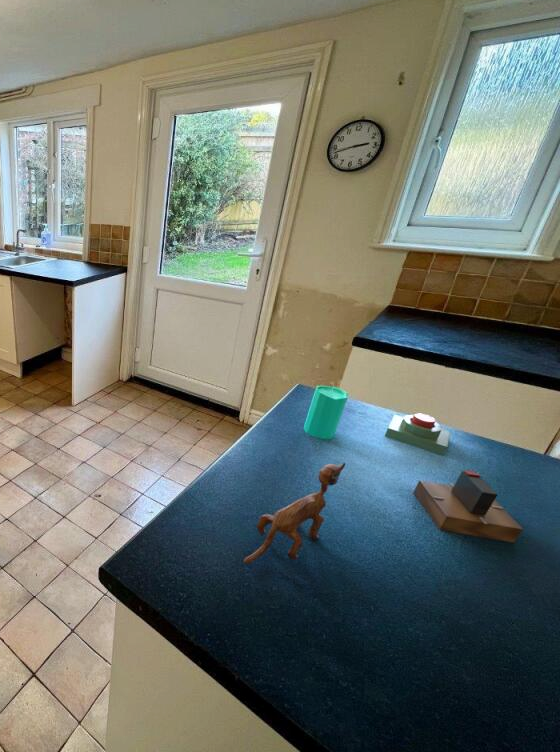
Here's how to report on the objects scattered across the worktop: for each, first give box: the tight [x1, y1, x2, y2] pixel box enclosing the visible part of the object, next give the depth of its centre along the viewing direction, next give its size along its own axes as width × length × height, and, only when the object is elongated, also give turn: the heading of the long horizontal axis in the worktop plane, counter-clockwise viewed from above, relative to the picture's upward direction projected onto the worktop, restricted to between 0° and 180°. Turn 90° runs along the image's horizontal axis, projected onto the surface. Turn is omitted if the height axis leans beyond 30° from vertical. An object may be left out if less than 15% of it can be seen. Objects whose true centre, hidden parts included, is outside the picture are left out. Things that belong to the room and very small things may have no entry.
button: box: [411, 412, 436, 428], centre depth 90 cm, size 4×4×2 cm
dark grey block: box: [452, 469, 499, 515], centre depth 69 cm, size 6×2×5 cm, turn 165°
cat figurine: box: [243, 462, 346, 565], centre depth 63 cm, size 18×7×14 cm, turn 118°
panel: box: [412, 480, 523, 544], centre depth 71 cm, size 10×10×3 cm
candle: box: [303, 384, 349, 440], centre depth 92 cm, size 6×6×12 cm
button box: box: [384, 414, 452, 456], centre depth 91 cm, size 10×8×4 cm
